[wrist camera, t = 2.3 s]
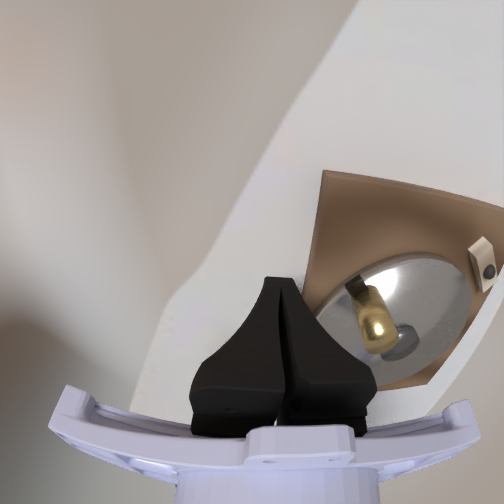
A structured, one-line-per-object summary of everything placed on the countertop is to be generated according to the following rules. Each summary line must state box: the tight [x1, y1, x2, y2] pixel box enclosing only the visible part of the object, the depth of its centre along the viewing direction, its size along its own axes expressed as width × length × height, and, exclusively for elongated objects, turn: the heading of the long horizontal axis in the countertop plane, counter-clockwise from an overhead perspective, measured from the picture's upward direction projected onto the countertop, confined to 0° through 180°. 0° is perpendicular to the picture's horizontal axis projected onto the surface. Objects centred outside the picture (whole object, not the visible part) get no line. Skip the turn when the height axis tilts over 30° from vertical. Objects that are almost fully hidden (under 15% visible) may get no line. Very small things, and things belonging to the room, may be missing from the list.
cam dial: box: [314, 251, 472, 387], centre depth 15 cm, size 14×13×5 cm
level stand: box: [302, 170, 504, 391], centre depth 18 cm, size 20×16×3 cm
